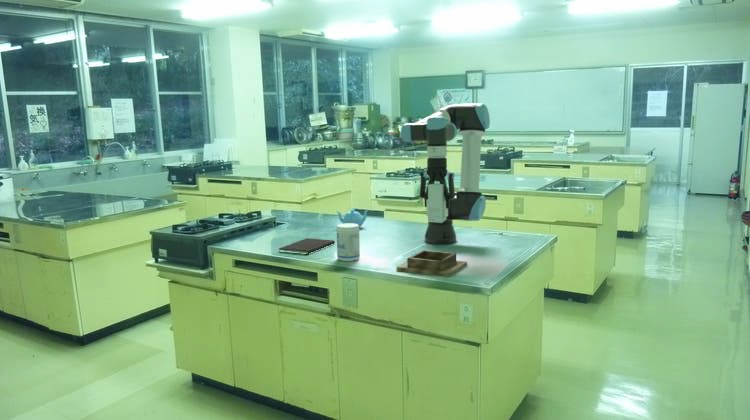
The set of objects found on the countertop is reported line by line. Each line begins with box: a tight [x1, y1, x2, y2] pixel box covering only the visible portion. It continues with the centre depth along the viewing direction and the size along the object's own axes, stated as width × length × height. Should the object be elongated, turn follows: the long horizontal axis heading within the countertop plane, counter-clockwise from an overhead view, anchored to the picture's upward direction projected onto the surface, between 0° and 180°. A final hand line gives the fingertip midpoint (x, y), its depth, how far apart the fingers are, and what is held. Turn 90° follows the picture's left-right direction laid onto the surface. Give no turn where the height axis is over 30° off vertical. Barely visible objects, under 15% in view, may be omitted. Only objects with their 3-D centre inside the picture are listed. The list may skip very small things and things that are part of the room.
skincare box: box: [427, 182, 446, 223], centre depth 212 cm, size 8×6×15 cm
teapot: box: [335, 207, 369, 228], centre depth 296 cm, size 13×13×10 cm
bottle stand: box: [396, 249, 468, 278], centre depth 211 cm, size 22×18×5 cm
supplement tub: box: [336, 223, 361, 262], centre depth 228 cm, size 10×10×15 cm
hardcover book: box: [278, 237, 336, 254], centre depth 252 cm, size 16×23×2 cm
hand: (437, 215), depth 213 cm, fingers closed on skincare box, 6 cm apart
